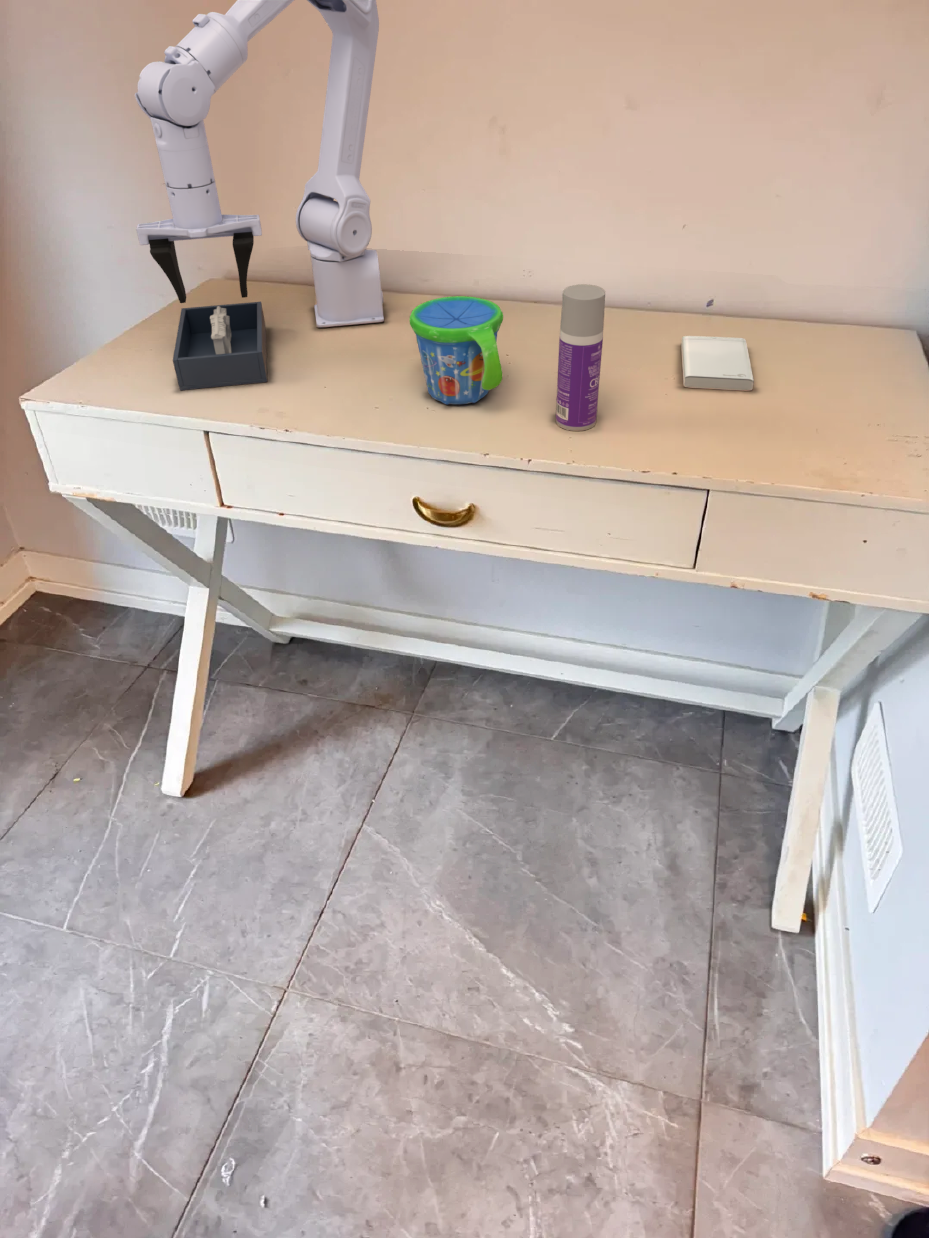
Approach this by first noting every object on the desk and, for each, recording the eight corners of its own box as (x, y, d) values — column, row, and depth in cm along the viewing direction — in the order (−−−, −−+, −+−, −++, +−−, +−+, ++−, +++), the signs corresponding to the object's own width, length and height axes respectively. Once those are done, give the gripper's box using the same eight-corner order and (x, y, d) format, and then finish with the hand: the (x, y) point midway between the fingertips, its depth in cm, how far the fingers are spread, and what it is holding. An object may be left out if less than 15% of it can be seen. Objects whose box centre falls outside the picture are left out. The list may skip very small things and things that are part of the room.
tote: (266, 329, 126) (261, 301, 123) (267, 382, 113) (262, 352, 110) (187, 336, 124) (181, 308, 122) (179, 390, 111) (172, 360, 109)
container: (594, 432, 101) (604, 301, 91) (552, 429, 102) (559, 298, 92) (597, 413, 104) (608, 284, 95) (557, 410, 105) (564, 282, 96)
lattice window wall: (220, 337, 123) (211, 294, 119) (233, 336, 123) (225, 293, 119) (217, 374, 114) (208, 329, 110) (232, 373, 114) (222, 328, 110)
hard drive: (754, 379, 107) (746, 337, 116) (684, 375, 108) (682, 334, 117) (751, 392, 108) (744, 349, 117) (682, 388, 109) (680, 346, 118)
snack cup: (394, 378, 113) (388, 298, 106) (469, 361, 116) (467, 282, 110) (446, 430, 102) (443, 345, 96) (527, 410, 105) (529, 326, 99)
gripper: (122, 196, 101) (152, 314, 110) (252, 187, 103) (272, 303, 111) (129, 180, 106) (157, 293, 115) (252, 171, 108) (271, 284, 117)
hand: (214, 297), depth 114 cm, fingers open, 7 cm apart
